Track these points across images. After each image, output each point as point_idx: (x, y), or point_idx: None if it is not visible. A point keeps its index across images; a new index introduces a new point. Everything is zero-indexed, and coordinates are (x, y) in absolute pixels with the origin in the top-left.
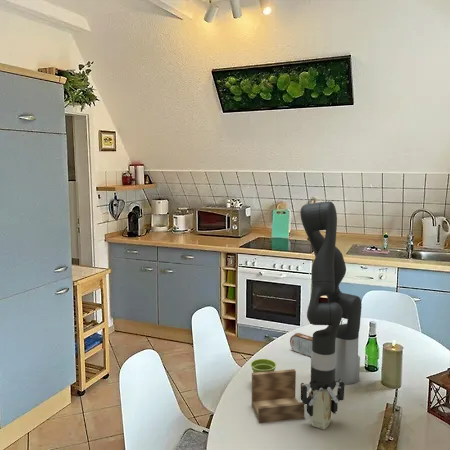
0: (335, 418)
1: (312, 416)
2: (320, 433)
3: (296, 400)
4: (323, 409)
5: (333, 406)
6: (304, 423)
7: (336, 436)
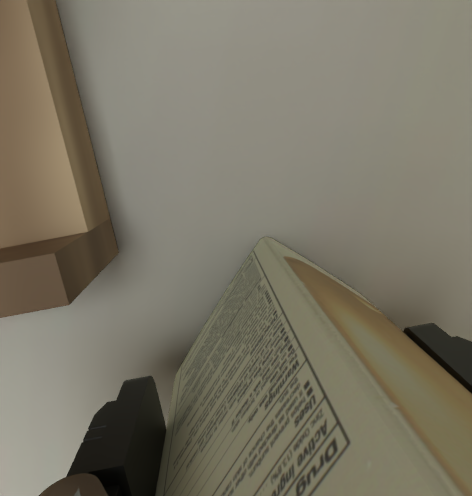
0: (414, 250)
1: (166, 433)
2: None
3: (16, 5)
4: None
5: None
6: (113, 330)
7: None
